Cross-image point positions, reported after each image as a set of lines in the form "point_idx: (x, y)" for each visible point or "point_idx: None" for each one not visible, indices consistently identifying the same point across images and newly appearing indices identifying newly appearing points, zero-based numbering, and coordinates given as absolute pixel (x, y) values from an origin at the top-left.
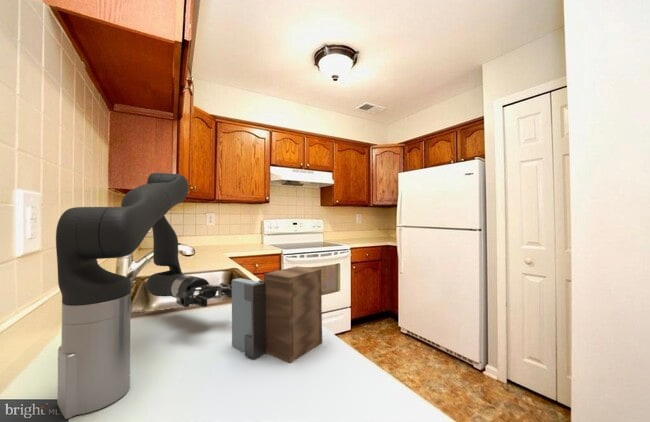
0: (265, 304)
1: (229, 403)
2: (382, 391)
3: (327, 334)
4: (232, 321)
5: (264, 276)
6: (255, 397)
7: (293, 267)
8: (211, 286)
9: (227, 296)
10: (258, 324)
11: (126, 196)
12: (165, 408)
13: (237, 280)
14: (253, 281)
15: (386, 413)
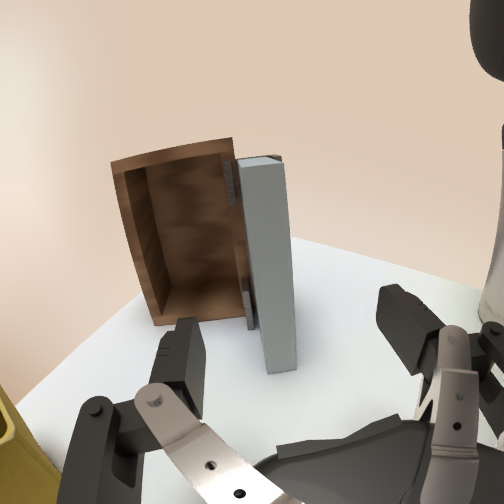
0: (242, 211)
1: (353, 262)
2: None
3: (133, 300)
4: (293, 310)
5: (232, 144)
6: (325, 259)
7: (128, 157)
8: (281, 490)
9: (201, 411)
10: None
11: None
12: (420, 277)
13: (271, 161)
14: (244, 160)
15: None
